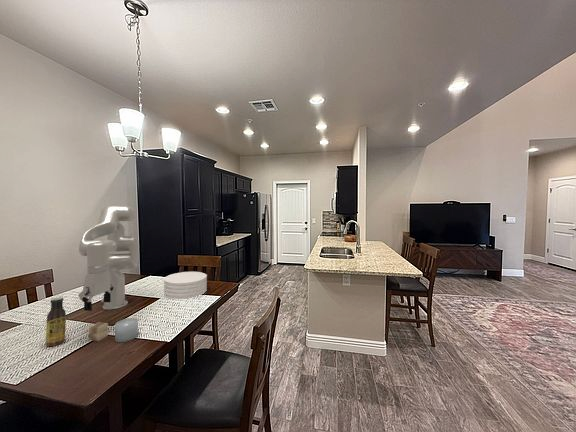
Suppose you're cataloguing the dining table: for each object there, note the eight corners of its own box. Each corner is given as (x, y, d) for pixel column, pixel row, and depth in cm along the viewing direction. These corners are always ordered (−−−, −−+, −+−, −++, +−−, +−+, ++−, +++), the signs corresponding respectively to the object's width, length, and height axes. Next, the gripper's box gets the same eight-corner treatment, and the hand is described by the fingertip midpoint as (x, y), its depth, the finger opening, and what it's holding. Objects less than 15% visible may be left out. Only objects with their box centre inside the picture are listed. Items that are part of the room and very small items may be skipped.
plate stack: (202, 284, 193) (202, 270, 192) (210, 295, 169) (210, 279, 169) (162, 289, 178) (162, 274, 178) (165, 303, 155) (165, 285, 154)
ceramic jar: (110, 341, 111) (109, 326, 110) (125, 331, 120) (125, 317, 119) (127, 343, 110) (127, 327, 109) (142, 332, 118) (142, 318, 118)
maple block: (88, 340, 111) (88, 327, 111) (98, 334, 116) (98, 322, 116) (98, 341, 110) (98, 328, 110) (107, 335, 115) (107, 323, 115)
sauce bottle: (48, 348, 104) (47, 302, 103) (43, 344, 107) (43, 299, 106) (68, 341, 109) (67, 298, 109) (63, 337, 113) (62, 295, 112)
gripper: (106, 264, 121) (107, 298, 121) (71, 273, 104) (71, 313, 104) (120, 265, 120) (120, 299, 120) (87, 274, 103) (87, 314, 103)
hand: (97, 306), depth 112 cm, fingers open, 9 cm apart
